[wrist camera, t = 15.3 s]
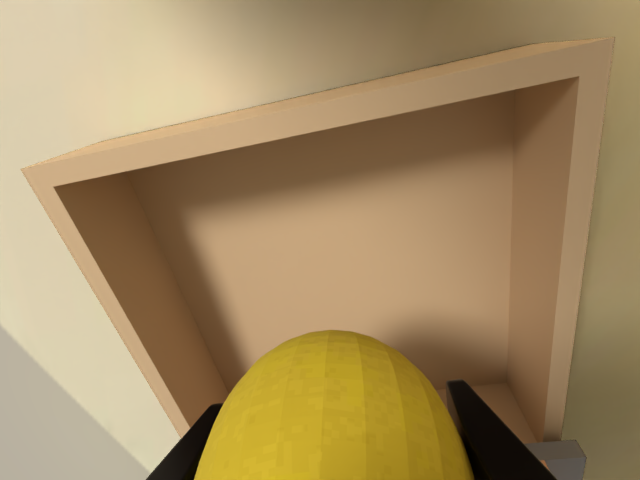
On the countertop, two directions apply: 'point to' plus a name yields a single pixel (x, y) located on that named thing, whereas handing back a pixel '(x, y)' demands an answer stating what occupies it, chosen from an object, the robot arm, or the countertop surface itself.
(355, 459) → the lemon
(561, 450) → the lid
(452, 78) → the box
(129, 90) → the countertop surface
